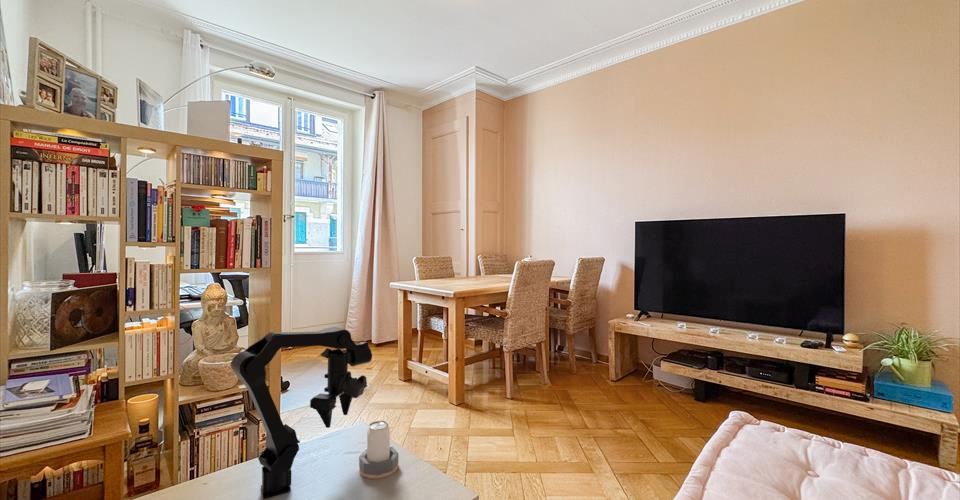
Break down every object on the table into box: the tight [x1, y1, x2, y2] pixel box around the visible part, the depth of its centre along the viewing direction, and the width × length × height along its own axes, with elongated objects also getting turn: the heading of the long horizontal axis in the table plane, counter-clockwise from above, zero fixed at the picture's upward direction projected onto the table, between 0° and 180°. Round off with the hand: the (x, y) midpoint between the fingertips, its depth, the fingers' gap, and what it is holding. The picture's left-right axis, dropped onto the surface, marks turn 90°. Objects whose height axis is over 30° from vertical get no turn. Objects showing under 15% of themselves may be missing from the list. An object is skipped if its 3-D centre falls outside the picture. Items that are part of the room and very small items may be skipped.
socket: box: [358, 446, 399, 480], centre depth 119 cm, size 11×11×4 cm
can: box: [366, 420, 391, 463], centre depth 119 cm, size 6×6×12 cm
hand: (337, 420), depth 121 cm, fingers open, 9 cm apart
